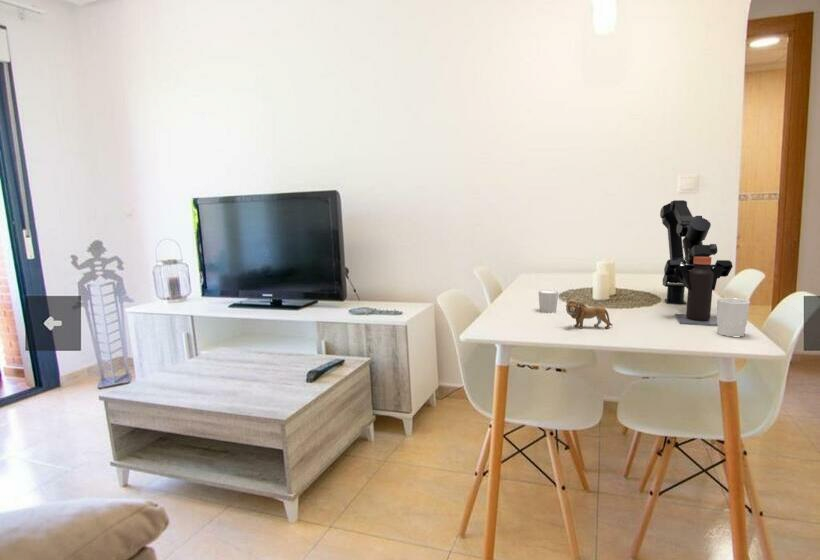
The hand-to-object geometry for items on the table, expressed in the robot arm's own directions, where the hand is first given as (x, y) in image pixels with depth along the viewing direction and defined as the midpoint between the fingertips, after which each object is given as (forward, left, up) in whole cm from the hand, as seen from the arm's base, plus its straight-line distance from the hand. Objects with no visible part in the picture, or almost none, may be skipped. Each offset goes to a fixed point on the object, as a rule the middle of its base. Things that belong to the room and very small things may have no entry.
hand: (701, 289), depth 160 cm
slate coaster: (-1, 0, -10) cm, 11 cm away
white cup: (+14, +6, -11) cm, 18 cm away
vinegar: (-1, 0, -10) cm, 10 cm away
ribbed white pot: (-3, -47, -11) cm, 48 cm away
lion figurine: (+17, -33, -11) cm, 39 cm away
